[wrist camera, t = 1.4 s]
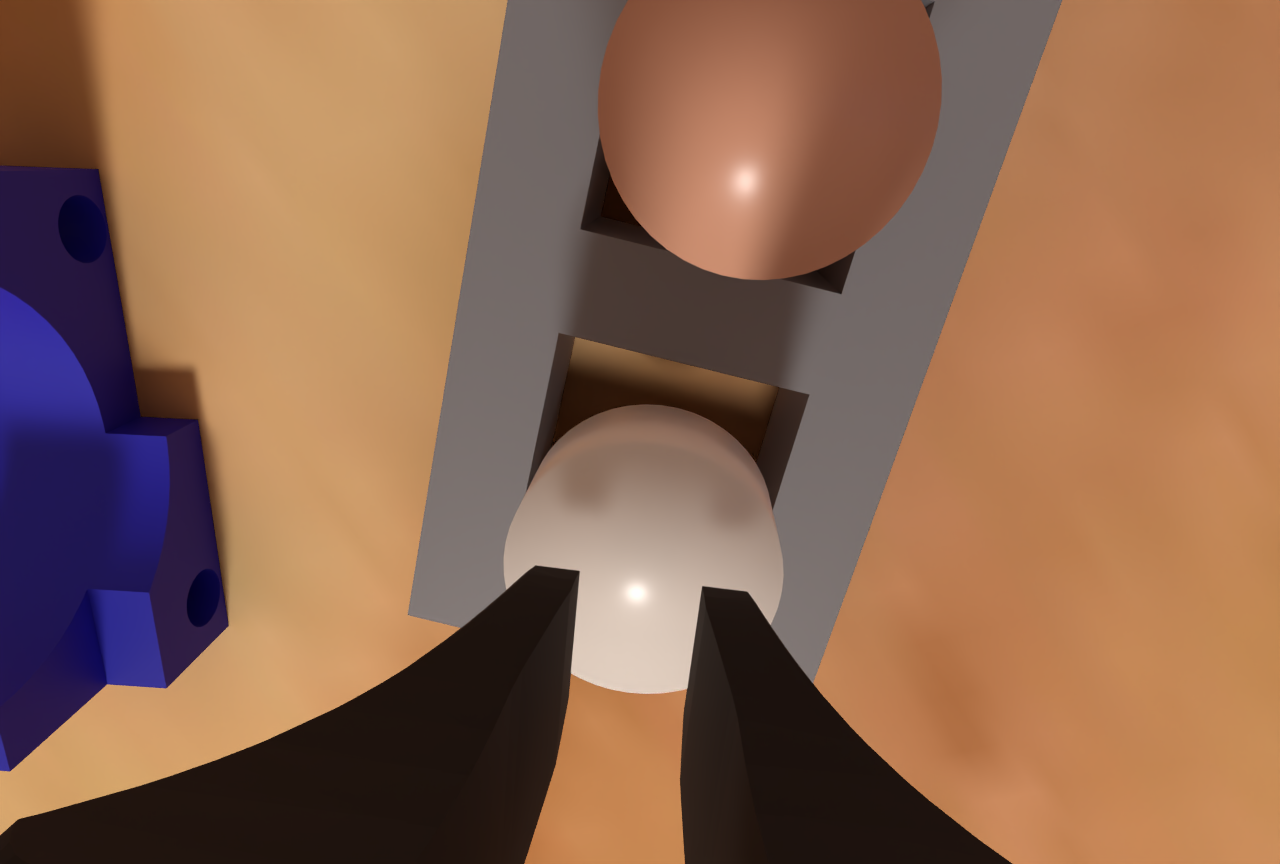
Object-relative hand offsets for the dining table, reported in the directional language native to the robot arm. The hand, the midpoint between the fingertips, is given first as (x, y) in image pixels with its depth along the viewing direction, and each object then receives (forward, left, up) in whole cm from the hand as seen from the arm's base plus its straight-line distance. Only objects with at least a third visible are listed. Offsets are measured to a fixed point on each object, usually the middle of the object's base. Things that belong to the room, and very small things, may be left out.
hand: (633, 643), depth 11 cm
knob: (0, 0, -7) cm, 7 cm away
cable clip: (+14, +3, -10) cm, 17 cm away
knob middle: (0, -7, -7) cm, 10 cm away
